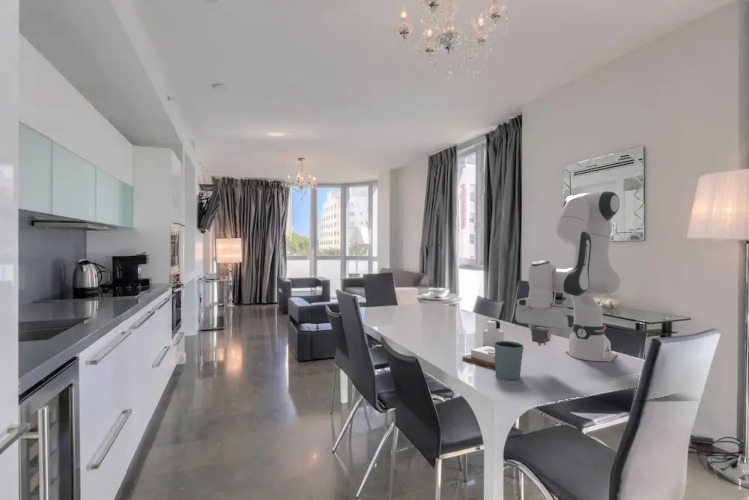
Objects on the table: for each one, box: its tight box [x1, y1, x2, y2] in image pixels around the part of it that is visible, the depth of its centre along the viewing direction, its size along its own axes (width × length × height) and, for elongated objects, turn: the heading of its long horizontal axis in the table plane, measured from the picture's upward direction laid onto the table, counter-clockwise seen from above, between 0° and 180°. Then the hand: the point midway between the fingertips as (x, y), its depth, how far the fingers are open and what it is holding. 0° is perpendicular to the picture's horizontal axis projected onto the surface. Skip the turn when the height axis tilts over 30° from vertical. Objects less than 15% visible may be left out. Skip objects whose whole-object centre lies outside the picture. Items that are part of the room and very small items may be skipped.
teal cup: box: [494, 340, 524, 381], centre depth 146 cm, size 10×10×12 cm
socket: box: [470, 345, 495, 363], centre depth 166 cm, size 11×11×4 cm
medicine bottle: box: [482, 319, 505, 348], centre depth 192 cm, size 7×7×12 cm
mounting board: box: [462, 353, 496, 370], centre depth 166 cm, size 16×16×2 cm
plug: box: [531, 326, 551, 347], centre depth 157 cm, size 7×4×6 cm, turn 129°
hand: (540, 337), depth 156 cm, fingers closed on plug, 4 cm apart
